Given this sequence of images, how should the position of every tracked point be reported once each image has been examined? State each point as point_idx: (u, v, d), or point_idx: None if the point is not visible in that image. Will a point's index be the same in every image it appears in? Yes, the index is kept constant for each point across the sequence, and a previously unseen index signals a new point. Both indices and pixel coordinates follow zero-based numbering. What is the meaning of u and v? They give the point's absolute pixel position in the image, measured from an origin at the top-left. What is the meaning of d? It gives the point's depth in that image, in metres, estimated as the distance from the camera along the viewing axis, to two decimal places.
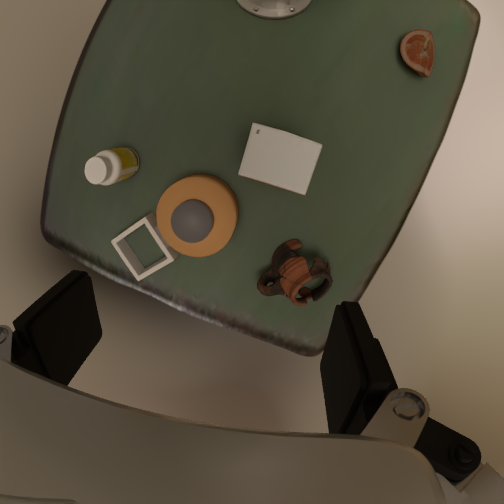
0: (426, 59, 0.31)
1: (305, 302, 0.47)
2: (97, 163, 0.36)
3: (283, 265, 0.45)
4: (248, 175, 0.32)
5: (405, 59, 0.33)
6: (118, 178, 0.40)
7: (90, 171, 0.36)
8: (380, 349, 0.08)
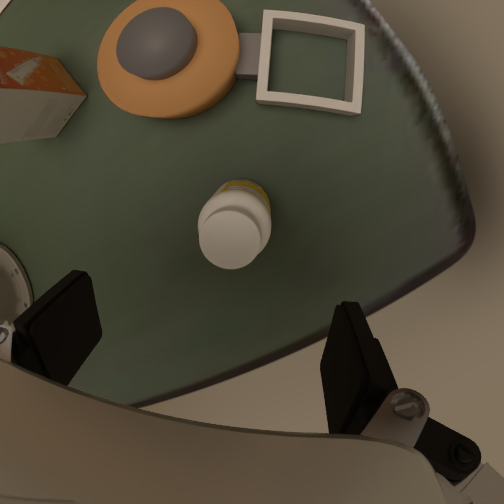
0: None
1: None
2: (214, 248, 0.19)
3: None
4: None
5: None
6: (226, 190, 0.21)
7: (240, 248, 0.19)
8: (380, 349, 0.08)
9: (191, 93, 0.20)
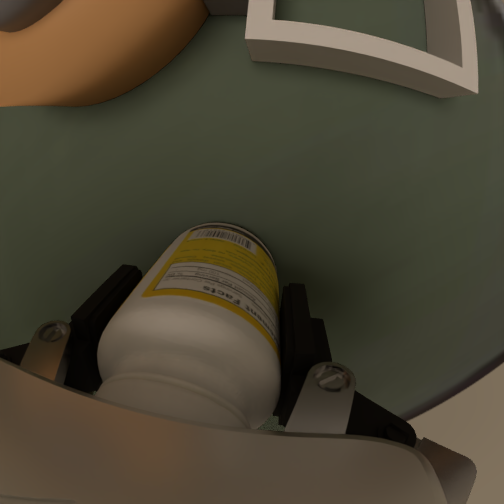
0: None
1: None
2: None
3: None
4: None
5: None
6: (154, 295, 0.07)
7: None
8: (322, 328, 0.09)
9: (80, 35, 0.06)
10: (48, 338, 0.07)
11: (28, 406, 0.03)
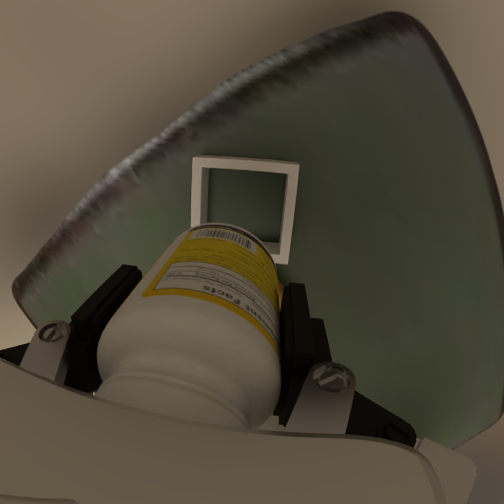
0: None
1: None
2: None
3: None
4: None
5: None
6: (154, 295, 0.07)
7: None
8: (322, 328, 0.09)
9: None
10: (48, 338, 0.07)
11: (28, 406, 0.03)
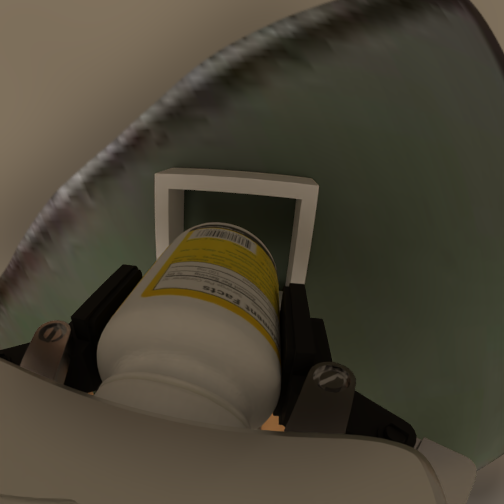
0: None
1: None
2: None
3: None
4: None
5: None
6: (153, 295, 0.07)
7: None
8: (322, 328, 0.09)
9: None
10: (48, 338, 0.07)
11: (28, 406, 0.03)
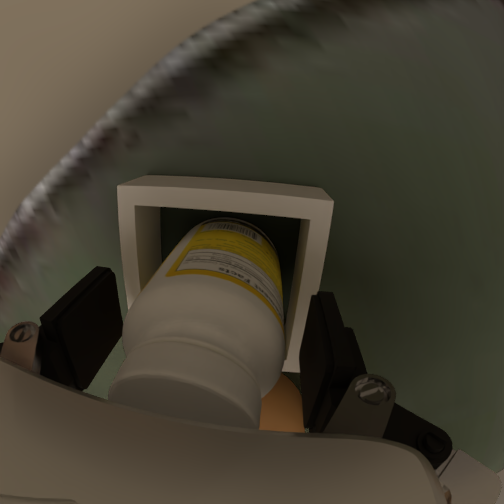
0: None
1: None
2: None
3: None
4: None
5: None
6: (177, 275, 0.08)
7: None
8: (353, 338, 0.09)
9: None
10: (18, 338, 0.06)
11: (28, 406, 0.03)
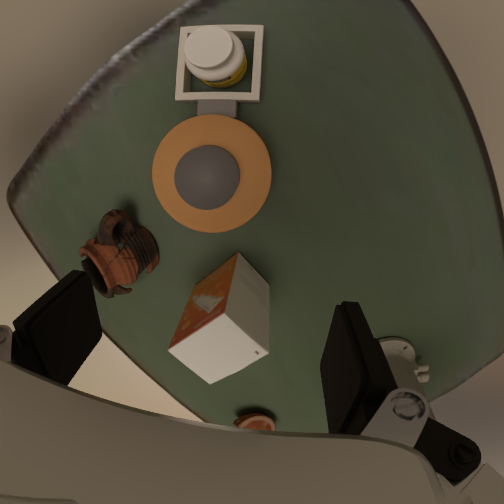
0: None
1: (81, 255, 0.33)
2: (195, 52, 0.19)
3: (132, 256, 0.33)
4: (216, 321, 0.25)
5: (255, 417, 0.46)
6: None
7: (216, 49, 0.19)
8: (380, 349, 0.08)
9: (254, 147, 0.27)
10: None
11: (28, 406, 0.03)
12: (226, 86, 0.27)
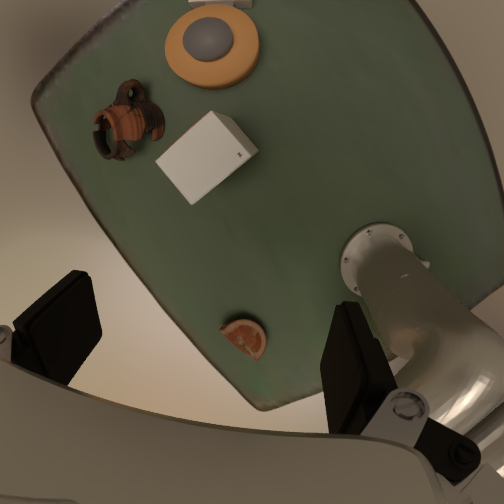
0: (234, 340, 0.46)
1: (95, 122, 0.35)
2: None
3: (141, 115, 0.34)
4: (204, 119, 0.26)
5: (243, 321, 0.47)
6: None
7: None
8: (380, 349, 0.08)
9: (245, 22, 0.28)
10: None
11: (28, 406, 0.03)
12: None
